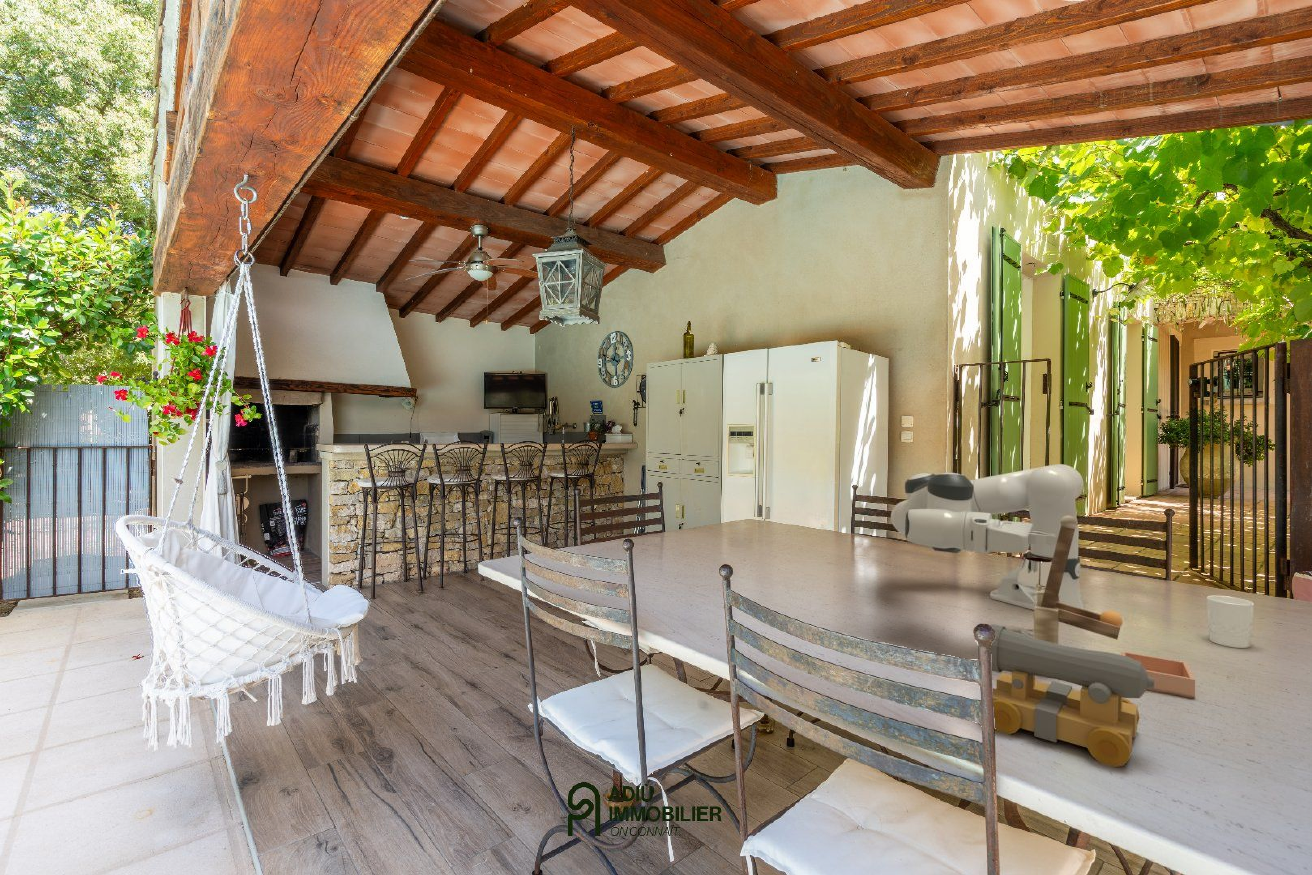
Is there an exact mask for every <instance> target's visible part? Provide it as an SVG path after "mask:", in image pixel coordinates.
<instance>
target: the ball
mask: <svg viewBox="0 0 1312 875" xmlns="http://www.w3.org/2000/svg"><path fill="white" fill-rule="evenodd" d="M1100 621H1102V622H1105V623H1108V624H1112V625H1115V626H1118V627H1120V628H1121V627H1122V626H1123V619H1122V617H1121V615H1120V614H1119V613H1117V612H1115V611H1112V610H1107V611H1103V612H1102V613H1101V616H1100Z"/></svg>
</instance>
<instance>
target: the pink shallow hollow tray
mask: <svg viewBox="0 0 1312 875" xmlns="http://www.w3.org/2000/svg"><path fill="white" fill-rule="evenodd" d="M1120 655H1123V656H1127V657H1130V658H1132V659H1134V660H1137V661H1139V662H1141V663H1142V664H1143V666H1144V668H1145V670H1146V672H1147V675H1148V676H1149V677H1151V678H1153V679H1154V688H1147V689H1146V691H1152V692H1156V693H1162V694H1168V695H1172V696H1177V697H1183V698H1186V699H1187V698H1188V699H1191V700H1192V699H1193V700H1194V699H1195V696H1196V678H1195V676H1194V675H1193V673H1192V670H1191V669H1190V667H1189V665H1188V662H1186V661H1182V660H1181V661H1180V660H1175V659H1170V658H1165V657H1164V658H1163V657H1157V656H1151V655H1145V654H1140V653H1136V652H1135V653H1134V652H1128V651H1123V650H1121V651H1120Z"/></svg>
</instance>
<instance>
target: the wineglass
mask: <svg viewBox="0 0 1312 875" xmlns="http://www.w3.org/2000/svg"><path fill="white" fill-rule="evenodd" d="M1051 564H1052V560H1050V559H1046V558H1039V557H1025V558H1024V560H1023V559H1022V563H1021V565H1022V566H1021V565H1020V566H1021V569H1020V572H1019V576H1018V585H1019V587H1020V589H1021V590H1022V591H1023V592H1024V593H1025V594H1026V595H1027V596H1028V597H1029V598H1030V599H1031V600H1032V601H1033V602H1034V604H1035V606H1037V592H1038V591H1043V592H1044V591H1045V587H1046V583H1047V579H1048V575H1049V571H1050V567H1051ZM1020 633H1021V634H1024V635H1027V636H1030V637H1033V638H1034V629H1022V630H1021V631H1020Z"/></svg>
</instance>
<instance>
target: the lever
mask: <svg viewBox="0 0 1312 875" xmlns="http://www.w3.org/2000/svg"><path fill="white" fill-rule="evenodd" d="M1060 523H1061V528H1060V532H1059V536H1058V540H1057V544H1056V548H1055V552H1054V556H1053V560H1052V564H1051V567H1050V571H1049V575H1048V579H1047V583H1046V587H1045V591H1044V595H1043V599H1042V603H1041V607H1046V608H1052V609H1058V621H1059V623H1062V624H1066V625H1068V626H1071V627H1076V628H1079V629H1081V630H1084V631H1089V632H1091V633H1095V634H1096V635H1097V634H1098V635H1100V636H1104V637H1107V638H1109V639H1113V640H1118V638H1119V636H1120V630H1121V627H1118V626H1115V625H1112V624H1108V623H1105V622H1102V621H1100V616H1101V614H1102V613H1101V614H1100V613H1098V612H1093V611H1090V610H1088V609H1085V608H1084V609H1081V608H1077V607H1074V606H1071V605H1067V604H1064V603H1060V602H1057V598H1058V594H1059V590H1060V586H1061V583H1062V579H1063V575H1064V571H1065V567H1066V563H1067V559H1068V555H1069V551H1070V547H1071V543H1072V539H1073V535H1074V531H1075V528H1076V527H1077V526H1078V527H1079V522H1078V519H1076V518H1075V517H1073V516H1070V515H1067V516H1064V517H1063V518H1062V519H1061V521H1060Z"/></svg>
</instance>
